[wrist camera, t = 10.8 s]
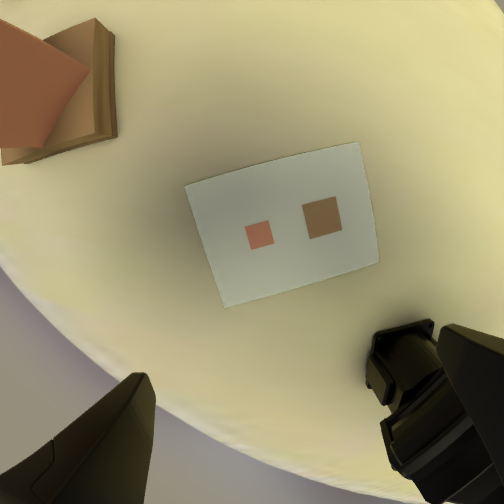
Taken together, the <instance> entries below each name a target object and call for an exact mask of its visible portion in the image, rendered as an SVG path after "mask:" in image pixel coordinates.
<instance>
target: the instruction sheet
mask: <svg viewBox="0 0 504 504" xmlns="http://www.w3.org/2000/svg"><path fill="white" fill-rule="evenodd" d="M184 188H185V191H186V194H187V197H188V201H189V204H190V207H191V210H192V213H193V216H194V220H195V223H196V226H197V229H198V232H199V235H200V238H201V241H202V244H203V247H204V250H205V253H206V256H207V259H208V262H209V265H210V268H211V271H212V274H213V277H214V279H215V282H216V285H217V288H218V291H219V294H220V297H221V299H222V302H223V305H224V308H228V307H232V306H236V305H239V304H243V303H247V302H250V301H254V300H258V299H261V298H265V297H268V296H272V295H276V294H279V293H283V292H286V291H289V290H293V289H296V288H300V287H303V286H306V285H310V284H313V283H316V282H320V281H323V280H326V279H329V278H333V277H336V276H339V275H342V274H345V273H349V272H352V271H355V270H358V269H361V268H364V267H367V266H370V265H373V264H376V263H379V262H380V261H379V252H378V244H377V237H376V230H375V223H374V216H373V210H372V204H371V199H370V193H369V188H368V183H367V177H366V173H365V168H364V163H363V159H362V154H361V150H360V145H359V142H353V143H348V144H343V145H338V146H333V147H329V148H324V149H319V150H315V151H310V152H306V153H301V154H297V155H293V156H289V157H285V158H281V159H277V160H273V161H269V162H265V163H261V164H257V165H254V166H250V167H246V168H243V169H239V170H236V171H232V172H229V173H225V174H222V175H218V176H215V177H212V178H208V179H205V180H202V181H199V182H195V183H192V184H189V185H186V186H184Z"/></svg>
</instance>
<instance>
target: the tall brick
mask: <svg viewBox="0 0 504 504" xmlns="http://www.w3.org/2000/svg"><path fill="white" fill-rule="evenodd" d="M90 71H91V69H90V68H88V67H86V66H85V65H83V64H82V63H80V62H78V61H77V60H75V59H73V58H72V57H70V56H69V55H67V54H65V53H63V52H62V51H60V50H58V49H57V48H55V47H53V46H52V45H50V44H48V43H46V42H45V41H43V40H41V39H39V38H37V37H35V36H33V35H31V34H30V33H28V32H26V31H24V30H22V29H20V28H18V27H16V26H14V25H12V24H10V23H8V22H6V21H3V20H1V19H0V148H23V147H43V146H44V144H45V142H46V140H47V138H48V137H49V135H50V133H51V131H52V129H53V128H54V126H55V124H56V122H57V121H58V119H59V117H60V116H61V114H62V112H63V111H64V109H65V107H66V106H67V104H68V103H69V101H70V100H71V98H72V96H73V95H74V93H75V92H76V90H77V89H78V88H79V86H80V85H81V83H82V82H83V80H84V79H85V77H86V76H87V75H88V73H89V72H90Z"/></svg>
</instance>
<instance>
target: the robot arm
mask: <svg viewBox="0 0 504 504" xmlns="http://www.w3.org/2000/svg"><path fill="white" fill-rule="evenodd" d="M433 329H434V321H432V320H431V319H429V320H425V321H421V322H417V323H414V324H410V325H406V326H402V327H398V328H394V329H389V330H385V331H381V332H377V333H376V334H375V335H374V337H373V343H372V350H371V355H370V357H369V360H368V366H367V372H366V379H367V380H366V386H367V388H368V389H373V391H374V393H375V394H376V396H377V398H378V400H379V402H380V403H381V405H383V406H386V405H387V406H388V408H389V409H390V411H391V413H392V414H391V415H390V416H389V417H387V418H385V419H383V420H382V421H381V422H380V426H381V432H382V436H383V439H384V443H385V447H386V451H387V455H388V459H389V462H390V464H391V467H392V469H393V470H394V471H398V472H399V473H400V474H401V475H402V476H403V477H404V478H406V479H409V480H412V481H413V482H414V483H415V485H416V486H417V488H418V489H419V491H420V493H421V494H422V496H423V498H424V499H425V501H426V502H428V503H431V504H443V503H444V502H451V503H455V504H504V339H502V338H499V337H495V336H492V335H489V334H486V333H482V332H479V331H476V330H473V329H469V328H466V327H463V326H460V325H456V324H448V325H445V326H443V327H442V328H441V330H440V334H439V338H438V342H436V341H435V340H434V339H433V338H432V333H433ZM379 337H380V338H379ZM378 338H379V339H378ZM155 405H156V396H155V392H154V390H153V387H152V384H151V382H150V379H149V377H148V375H147V374H146V373H144V372H135V373H132V374H130V375H129V376H128V377H127V378H125V379H124V380H123V381H122V382H121V383H119V384H118V385H117V386H116V387H115V388H114V389H112V390H111V391H110V392H109V393H107V394H106V395H105V396H104V397H103V398H101V399H100V400H99V401H98V402H97V403H95V404H94V405H93V406H92V407H90V408H89V409H88V410H87V411H86V412H84V413H83V414H82V415H81V416H80V417H78V418H77V419H76V420H75V421H73V422H72V423H71V424H70V425H69V426H67V427H66V428H65V429H64V430H62V431H61V432H60V433H59V434H58V435H56V436H55V437H54V438H53V440H50V441H49V442H47V443H46V444H45V445H44V446H42V447H41V448H40V449H39V450H37V451H36V452H34V454H32V455H30V456H29V457H27V458H26V459H25V460H23V461H22V462H20V463H19V464H17V465H16V466H14V467H12V468H11V469H9V470H7V471H6V472H4V473H2V474H1V475H0V504H143V503H144V496H145V490H146V483H147V477H148V470H149V464H150V458H151V453H152V446H153V436H154V419H155Z"/></svg>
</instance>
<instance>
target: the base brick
mask: <svg viewBox="0 0 504 504" xmlns="http://www.w3.org/2000/svg"><path fill="white" fill-rule="evenodd" d="M114 39H115V35H114V34H113V33H112V32H109V31H108V30H107V29H106V28H105V27H104V26H103V25H102V24H101V23H100V22H99V21H98V20H97V19H96V18H93V19H91V20H88V21H85V22H83V23H80V24H78V25H75V26H73V27H71V28H68V29H66V30H64V31H61V32H59V33H57V34H55V35H53V36H51V37H49V38H46V39H44V40H43V41H45V42H46V43H48V44H50V45H52V46H53V47H55V48H57V49H58V50H60V51H62V52H63V53H65V54H67V55H69V56H70V57H72V58H73V59H75V60H77V61H78V62H80V63H82V64H83V65H85V66H86V67H88V68H90V69H91V71H90V72H89V73H88V75H87V76H86V77H85V79H84V80H83V82H82V83H81V85H80V86H79V88H78V89H77V90H76V92H75V93H74V95H73V96H72V98H71V100H70V101H69V103H68V104H67V106H66V107H65V109H64V111H63V112H62V114H61V116H60V117H59V119H58V121H57V122H56V124H55V126H54V128H53V129H52V131H51V133H50V135H49V137H48V138H47V140H46V142H45V144H44V146H43V147H23V148H1V158H2V166H3V165H12V164H22V163H24V164H30V163H32V162H35V161H38V160H41V159H44V158H47V157H50V156H53V155H56V154H59V153H62V152H65V151H68V150H72V149H75V148H78V147H82V146H85V145H89V144H93V143H96V142H100V141H104V140H108V139H112V138H116V137H117V125H116V110H115V87H114Z"/></svg>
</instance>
